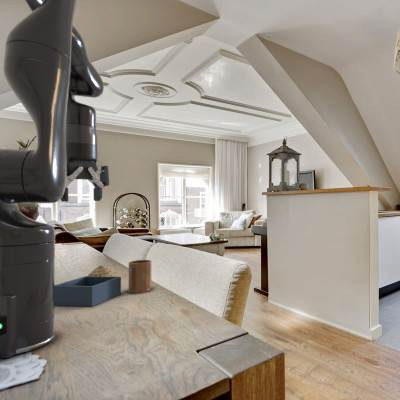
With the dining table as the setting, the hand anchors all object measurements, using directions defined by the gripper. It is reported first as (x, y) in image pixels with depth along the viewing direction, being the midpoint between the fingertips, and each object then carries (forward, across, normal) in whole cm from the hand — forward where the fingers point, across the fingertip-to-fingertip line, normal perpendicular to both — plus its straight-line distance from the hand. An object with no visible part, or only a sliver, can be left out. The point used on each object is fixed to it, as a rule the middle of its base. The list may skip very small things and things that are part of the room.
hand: (81, 201), depth 87 cm
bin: (+24, -5, -12) cm, 27 cm away
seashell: (+26, +10, +7) cm, 28 cm away
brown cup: (+24, +6, -16) cm, 30 cm away
